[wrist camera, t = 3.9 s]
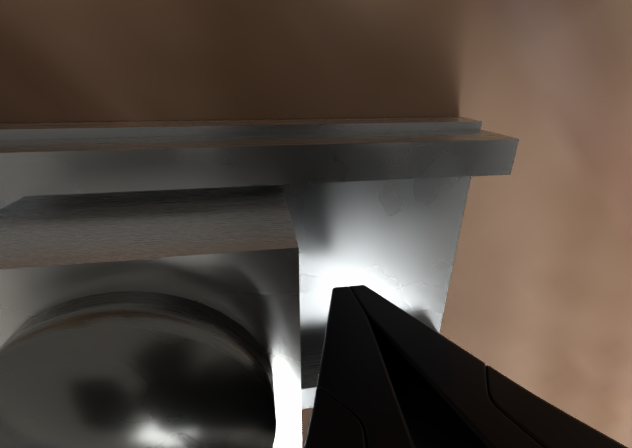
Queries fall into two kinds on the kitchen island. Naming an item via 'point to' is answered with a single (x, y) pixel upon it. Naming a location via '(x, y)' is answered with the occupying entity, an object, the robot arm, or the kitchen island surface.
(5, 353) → the carriage
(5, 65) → the kitchen island surface
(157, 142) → the rail
